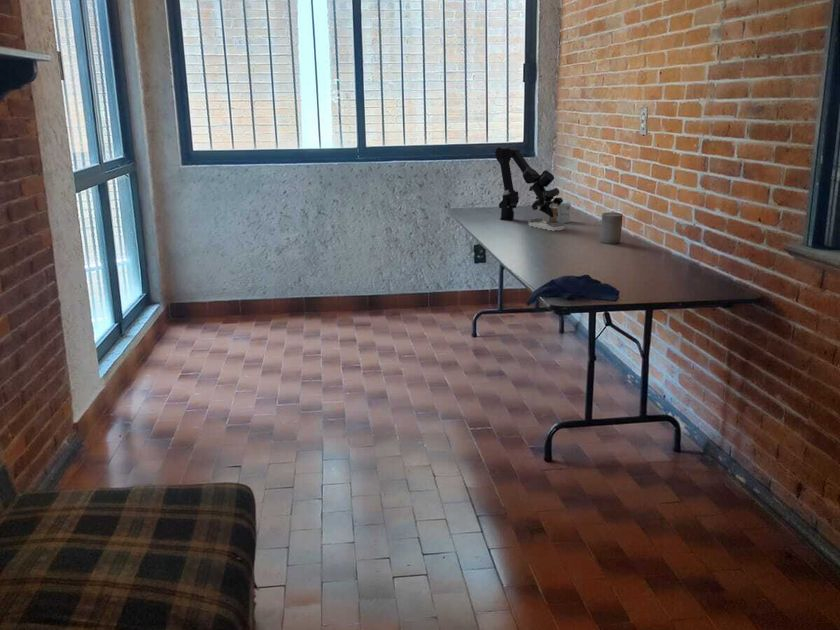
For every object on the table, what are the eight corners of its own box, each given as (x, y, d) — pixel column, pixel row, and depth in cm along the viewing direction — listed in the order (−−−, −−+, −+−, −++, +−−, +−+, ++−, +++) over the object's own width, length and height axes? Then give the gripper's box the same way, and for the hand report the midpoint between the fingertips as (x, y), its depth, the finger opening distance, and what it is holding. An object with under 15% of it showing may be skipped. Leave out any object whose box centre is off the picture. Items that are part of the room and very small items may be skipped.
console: (528, 225, 401) (529, 218, 399) (540, 224, 406) (540, 217, 405) (552, 231, 388) (553, 223, 387) (564, 229, 394) (565, 222, 392)
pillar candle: (620, 241, 368) (623, 210, 363) (620, 244, 358) (623, 213, 354) (599, 239, 370) (602, 209, 366) (599, 243, 361) (601, 212, 356)
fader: (546, 224, 393) (548, 203, 390) (553, 223, 396) (554, 203, 393) (551, 225, 391) (553, 204, 387) (558, 224, 394) (559, 204, 391)
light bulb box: (568, 220, 420) (570, 201, 417) (569, 222, 414) (571, 203, 410) (549, 219, 421) (550, 200, 418) (549, 222, 415) (551, 202, 411)
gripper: (537, 183, 385) (552, 208, 380) (561, 181, 396) (576, 205, 391) (525, 197, 393) (539, 221, 388) (549, 195, 404) (563, 218, 399)
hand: (555, 216), depth 391 cm, fingers closed on fader, 3 cm apart
